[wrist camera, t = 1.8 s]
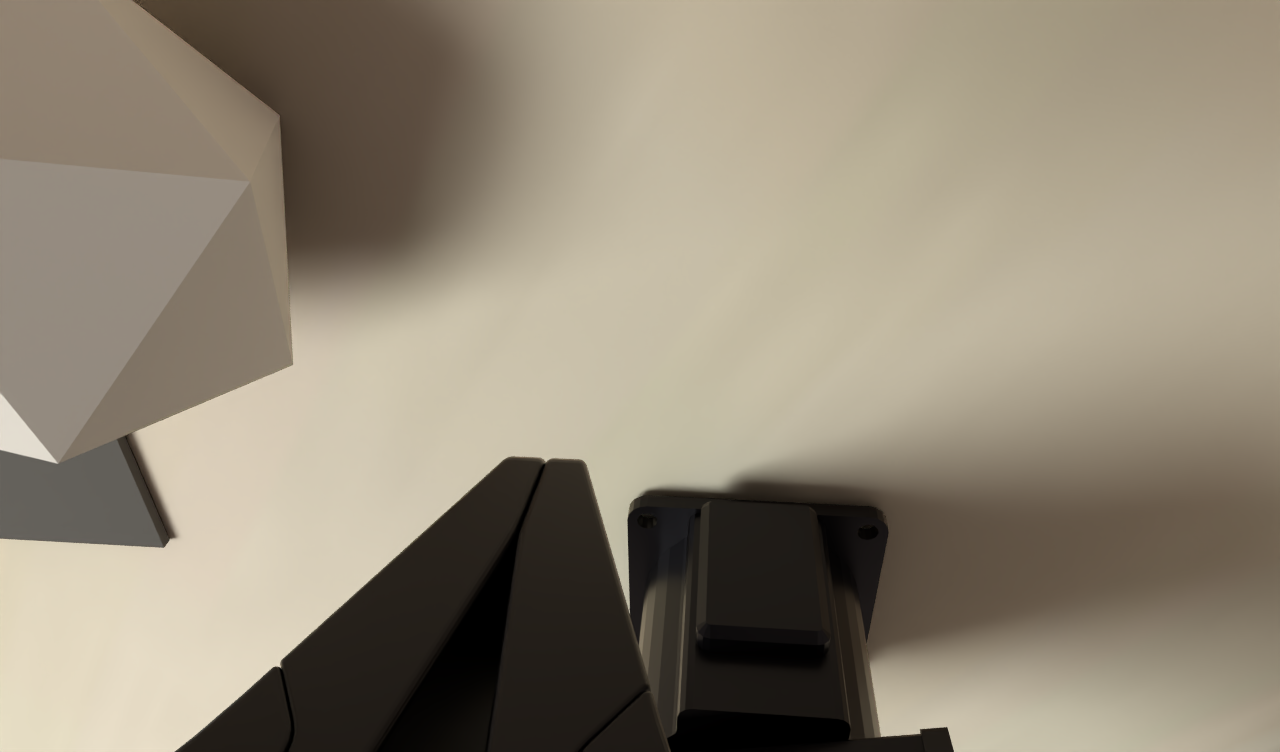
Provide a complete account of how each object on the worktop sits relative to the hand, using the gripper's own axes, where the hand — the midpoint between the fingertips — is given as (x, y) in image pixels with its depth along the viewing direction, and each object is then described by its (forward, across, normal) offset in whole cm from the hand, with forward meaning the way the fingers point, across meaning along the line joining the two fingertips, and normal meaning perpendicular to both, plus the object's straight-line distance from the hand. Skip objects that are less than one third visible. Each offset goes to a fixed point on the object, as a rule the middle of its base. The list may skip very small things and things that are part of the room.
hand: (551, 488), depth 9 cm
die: (+10, +10, 0) cm, 14 cm away
